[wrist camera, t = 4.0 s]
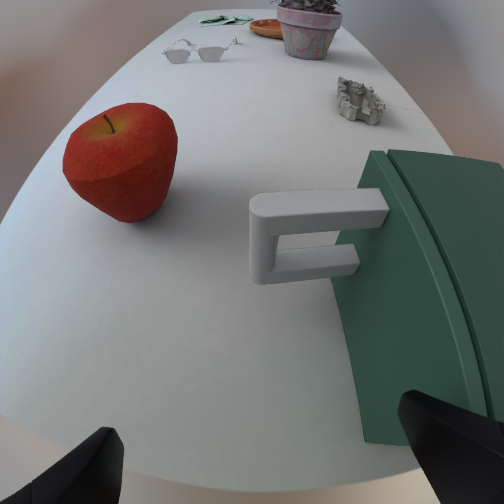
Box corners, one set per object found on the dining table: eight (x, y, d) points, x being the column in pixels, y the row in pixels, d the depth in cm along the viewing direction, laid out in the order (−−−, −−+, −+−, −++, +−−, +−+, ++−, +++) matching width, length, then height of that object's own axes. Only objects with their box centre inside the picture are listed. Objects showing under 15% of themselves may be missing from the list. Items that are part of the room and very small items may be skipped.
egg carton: (381, 129, 39) (388, 108, 36) (336, 118, 40) (340, 96, 36) (373, 100, 45) (378, 82, 41) (334, 91, 46) (338, 72, 42)
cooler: (378, 437, 17) (496, 433, 6) (338, 262, 26) (388, 148, 15) (480, 391, 18) (584, 346, 7) (436, 251, 27) (499, 163, 16)
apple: (166, 259, 26) (124, 156, 16) (80, 240, 27) (27, 155, 17) (203, 177, 32) (190, 81, 22) (125, 170, 33) (97, 88, 23)
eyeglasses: (163, 65, 55) (161, 50, 51) (186, 44, 64) (185, 32, 61) (227, 62, 54) (226, 46, 50) (240, 43, 63) (240, 30, 60)
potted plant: (255, 45, 62) (256, -36, 41) (322, 46, 64) (331, -29, 43) (273, 65, 52) (277, -38, 32) (352, 68, 55) (367, -23, 34)
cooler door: (269, 462, 16) (294, 516, 6) (245, 271, 25) (243, 151, 14) (376, 438, 17) (490, 435, 6) (336, 262, 26) (384, 150, 15)
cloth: (259, 19, 87) (259, 14, 85) (231, 27, 76) (231, 21, 74) (216, 17, 92) (216, 12, 90) (185, 26, 81) (184, 21, 79)
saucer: (235, 35, 69) (235, 24, 66) (271, 24, 80) (271, 16, 77) (304, 46, 63) (305, 35, 60) (330, 36, 73) (331, 27, 70)
